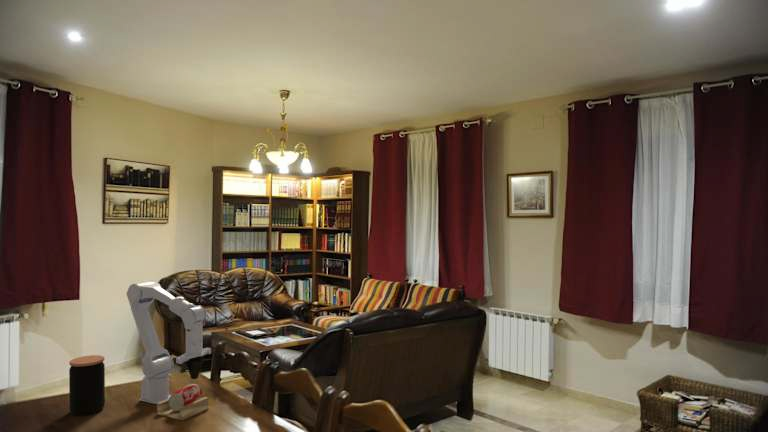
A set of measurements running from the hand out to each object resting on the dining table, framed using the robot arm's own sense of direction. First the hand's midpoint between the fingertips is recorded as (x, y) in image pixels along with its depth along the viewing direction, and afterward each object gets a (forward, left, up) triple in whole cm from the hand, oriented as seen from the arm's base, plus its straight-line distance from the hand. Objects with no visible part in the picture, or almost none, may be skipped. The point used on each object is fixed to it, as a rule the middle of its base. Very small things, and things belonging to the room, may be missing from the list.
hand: (194, 378), depth 182 cm
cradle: (0, -5, -10) cm, 11 cm away
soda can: (-2, +2, -6) cm, 7 cm away
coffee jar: (-31, -19, -10) cm, 38 cm away
